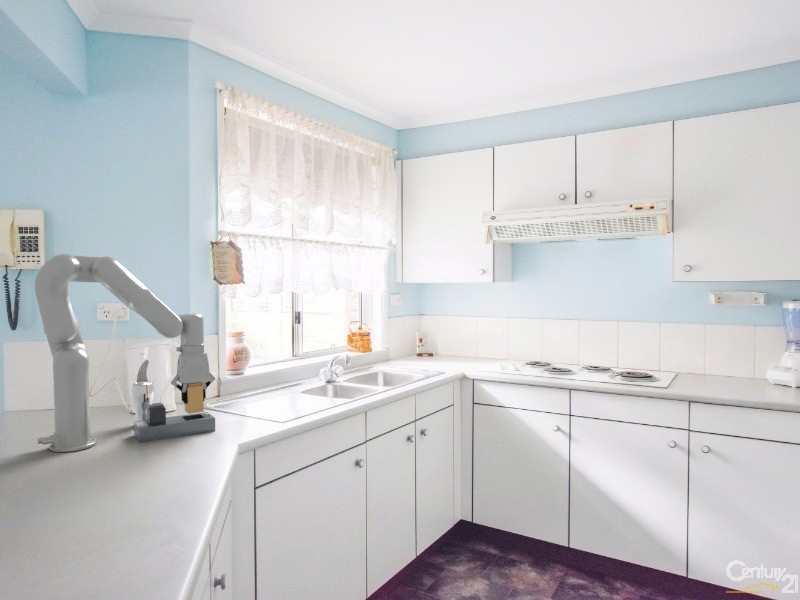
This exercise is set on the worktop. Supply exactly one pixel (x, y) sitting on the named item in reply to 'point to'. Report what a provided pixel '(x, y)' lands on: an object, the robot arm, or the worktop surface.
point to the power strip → (171, 424)
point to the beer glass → (142, 399)
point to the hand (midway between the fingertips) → (193, 401)
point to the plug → (194, 398)
